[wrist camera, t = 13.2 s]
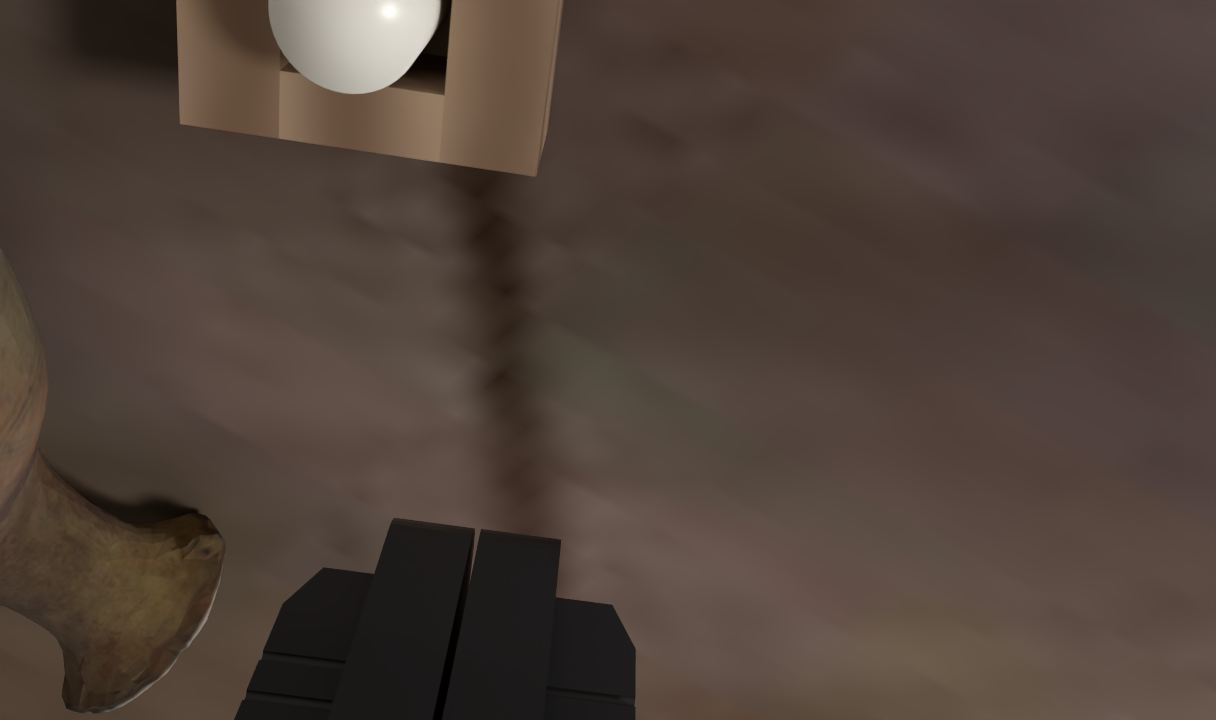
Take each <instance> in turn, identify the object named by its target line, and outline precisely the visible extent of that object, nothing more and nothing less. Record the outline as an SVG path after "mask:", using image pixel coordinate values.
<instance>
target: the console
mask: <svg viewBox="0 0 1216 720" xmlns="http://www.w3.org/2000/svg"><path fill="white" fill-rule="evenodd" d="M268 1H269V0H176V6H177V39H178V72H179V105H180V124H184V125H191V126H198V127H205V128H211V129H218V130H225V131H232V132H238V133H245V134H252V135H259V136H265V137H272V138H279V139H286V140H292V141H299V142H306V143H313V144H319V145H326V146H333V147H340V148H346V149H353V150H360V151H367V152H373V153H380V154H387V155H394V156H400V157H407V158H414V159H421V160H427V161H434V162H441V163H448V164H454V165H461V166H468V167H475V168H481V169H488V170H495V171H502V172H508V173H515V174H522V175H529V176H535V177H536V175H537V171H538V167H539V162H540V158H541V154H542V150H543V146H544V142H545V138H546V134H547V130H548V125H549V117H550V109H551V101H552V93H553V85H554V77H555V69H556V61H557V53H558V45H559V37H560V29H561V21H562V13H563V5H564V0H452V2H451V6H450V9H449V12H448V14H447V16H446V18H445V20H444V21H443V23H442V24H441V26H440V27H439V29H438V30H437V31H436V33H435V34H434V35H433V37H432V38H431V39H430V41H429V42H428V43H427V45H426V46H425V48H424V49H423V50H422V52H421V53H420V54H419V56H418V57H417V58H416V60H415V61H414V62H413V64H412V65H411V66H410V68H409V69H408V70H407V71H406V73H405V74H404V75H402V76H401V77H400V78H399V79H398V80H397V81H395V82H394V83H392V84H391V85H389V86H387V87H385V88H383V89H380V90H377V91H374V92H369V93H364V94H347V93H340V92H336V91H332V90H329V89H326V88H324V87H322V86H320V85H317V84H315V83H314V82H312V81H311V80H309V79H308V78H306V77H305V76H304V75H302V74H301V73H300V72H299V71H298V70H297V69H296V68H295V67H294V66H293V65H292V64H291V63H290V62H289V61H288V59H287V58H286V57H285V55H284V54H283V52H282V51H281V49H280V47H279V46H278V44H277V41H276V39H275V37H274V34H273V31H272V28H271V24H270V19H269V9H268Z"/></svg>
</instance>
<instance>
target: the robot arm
mask: <svg viewBox="0 0 1216 720" xmlns="http://www.w3.org/2000/svg"><path fill="white" fill-rule="evenodd" d="M474 537H475V529H474V528H467V527H459V526H452V525H444V524H437V523H429V522H422V521H414V520H407V519H399V518H394V519H393V520H392V522H391V524H390V527H389V530H388V533H387V536H386V539H385V542H384V546H383V549H382V552H381V555H380V558H379V561H378V564H377V567H376V570H375V573H374V574H370V573H362V572H355V571H347V570H339V569H332V568H322V569H321V570H320V571H319V572H318V573H317V574H316V575H315V576H313V577H312V578H311V579H310V580H309V581H308V582H307V583H306V584H304V585H303V586H302V587H301V588H300V589H299V590H298V591H297V592H296V593H294V594H293V595H292V596H291V597H290V598H289V599H288V600H287V601H285V602H284V603H283V605H282V607H281V609H280V612H279V614H278V617H277V619H276V621H275V624H274V626H273V628H272V631H271V633H270V636H269V638H268V640H267V643H266V645H265V647H264V650H263V656H262V659H261V660H259V662H258V664H257V666H256V669H255V671H254V674H253V676H252V678H251V681H250V683H249V686H248V688H247V693H246V697H245V700H242V702H241V705H240V707H239V709H238V712H237V714H236V716H235V719H234V720H635V707H634V703H635V662H636V649H635V647H634V645H633V643H632V641H631V639H630V638H629V636H628V634H627V632H626V630H625V628H624V626H623V624H622V622H621V621H620V619H619V617H618V615H617V613H616V611H615V609H614V607H613V605H610V604H602V603H594V602H587V601H579V600H571V599H564V598H556V587H557V577H558V567H559V557H560V546H561V540H559V539H552V538H544V537H537V536H529V535H522V534H514V533H507V532H499V531H492V530H484V529H481V532H480V536H479V541H478V546H477V551H476V556H475V561H474V565H473V570H472V575H471V566H472V557H473V548H474ZM470 575H471V580H470ZM469 583H470V585H469Z"/></svg>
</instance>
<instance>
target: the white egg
mask: <svg viewBox="0 0 1216 720" xmlns="http://www.w3.org/2000/svg"><path fill="white" fill-rule="evenodd" d="M451 2H452V0H269V1H268V9H269V19H270V24H271V28H272V31H273V34H274V37H275V39H276V41H277V44H278V46H279V47H280V49H281V51H282V52H283V54H284V55H285V57H286V58H287V59H288V61H289V62H290V63H291V64H292V65H293V66H294V67H295V68H296V69H297V70H298V71H299V72H300V73H301V74H302V75H304V76H305V77H306V78H308V79H309V80H311V81H312V82H314V83H315V84H317V85H320V86H322V87H324V88H326V89H329V90H332V91H336V92H340V93H347V94H364V93H369V92H374V91H377V90H380V89H383V88H385V87H387V86H389V85H391V84H392V83H394V82H395V81H397V80H398V79H399V78H400V77H401V76H402V75H404V74H405V73H406V71H407V70H408V69H409V68H410V66H411V65H412V64H413V62H414V61H415V60H416V58H417V57H418V56H419V54H420V53H421V52H422V50H423V49H424V48H425V46H426V45H427V43H428V42H429V41H430V39H431V38H432V37H433V35H434V34H435V33H436V31H437V30H438V29H439V27H440V26H441V24H442V23H443V21H444V20H445V18H446V16H447V14H448V12H449V9H450V6H451Z"/></svg>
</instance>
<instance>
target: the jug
mask: <svg viewBox="0 0 1216 720" xmlns="http://www.w3.org/2000/svg"><path fill="white" fill-rule="evenodd" d="M47 396H48V377H47V368H46V359H45V351H44V346H43V343H42V339H41V336H40V333H39V330H38V326H37V323H36V321H35V318H34V316H33V313H32V311H31V308H30V306H29V304H28V301H27V299H26V296H25V294H24V292H23V290H22V288H21V286H20V283H19V281H18V279H17V277H16V275H15V273H14V271H13V269H12V268H11V266H10V264H9V262H8V260H7V258H6V256H5V254H4V253H3V251H2V249H1V247H0V605H2V606H5V607H7V608H9V609H11V610H13V611H16V612H18V613H20V614H22V615H24V616H25V617H27V618H29V619H30V620H32V621H34V622H36V623H37V624H39V625H40V626H42V627H43V628H45V629H46V630H48V631H49V632H50V633H51V634H53V635H54V636H55V638H56V639H57V640H58V642H59V644H60V646H61V648H62V650H63V657H64V668H65V678H64V683H63V689H62V698H63V700H64V703H65V706H66V709H69V710H72V711H75V712H79V713H87V712H92V713H102V712H108V711H111V710H114V709H116V708H119V707H121V706H124V705H125V704H127V703H128V702H130V701H132V700H133V699H135V698H136V697H138V696H139V695H140V694H141V693H143V692H144V691H145V690H146V689H148V688H149V687H150V686H151V685H153V684H154V683H155V682H156V681H158V680H159V679H160V678H161V677H163V676H164V675H165V674H166V673H167V672H168V671H169V670H170V668H171V667H172V666H173V664H174V663H175V662H176V660H177V658H178V657H179V655H180V653H181V652H182V651H183V650H185V649H186V648H188V647H189V645H190V644H191V642H192V640H193V639H194V638H195V637H196V635H197V634H198V633H199V631H200V630H201V628H202V627H203V625H204V624H205V622H206V621H207V618H208V615H209V613H210V610H211V607H212V604H213V601H214V598H215V595H216V592H217V590H218V587H219V584H220V577H221V572H222V567H223V559H224V553H225V540H224V539H223V537H222V536H221V534H220V533H219V531H218V530H217V528H216V527H215V526H214V524H213V523H212V521H211V520H210V519H209V518H208V517H207V516H205V515H202V514H198V513H196V512H191V513H188V514H185V515H183V516H180V517H177V518H173V519H168V520H164V521H159V522H153V523H146V524H134V523H129V522H126V521H124V520H122V519H119V518H117V517H115V516H113V515H111V514H109V513H108V512H106V511H104V510H102V509H101V508H99V507H97V506H95V505H94V504H92V503H90V502H89V501H88V500H86V499H85V498H84V497H83V496H82V495H80V494H79V493H78V492H77V491H75V490H74V489H73V488H72V487H70V486H69V485H68V484H67V483H66V482H65V481H64V480H63V479H62V478H61V477H60V476H59V475H58V474H57V473H56V472H55V471H54V470H52V469H51V467H50V466H49V465H48V463H47V462H46V460H45V459H44V458H43V456H42V455H41V452H40V449H39V447H38V443H37V441H38V438H39V435H40V431H41V428H42V424H43V420H44V417H45V413H46V407H47Z"/></svg>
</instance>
